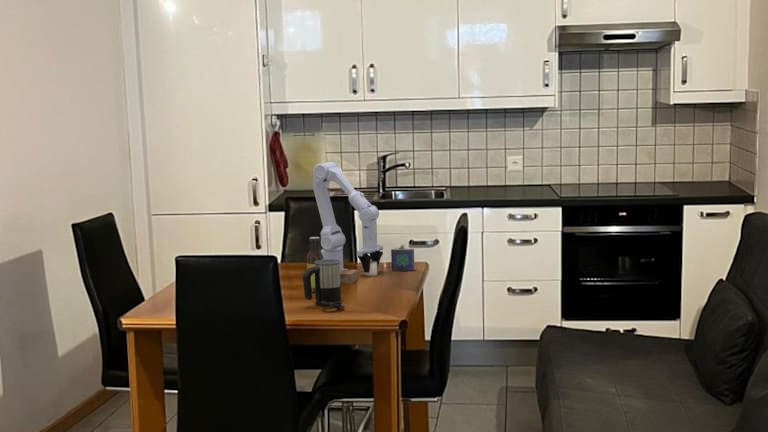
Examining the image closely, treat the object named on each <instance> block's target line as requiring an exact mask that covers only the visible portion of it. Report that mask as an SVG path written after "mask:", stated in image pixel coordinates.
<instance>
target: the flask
mask: <svg viewBox="0 0 768 432" xmlns="http://www.w3.org/2000/svg"><path fill="white" fill-rule="evenodd" d="M390 256H391V257H390V258H391V259H390V260H391V271H392V272H395V273H396V272H397V273H398V272H412V271H413V272H414V271H415V269H416V268H415V249H414V248H412V247H411V248H409V247H408V248H405V244H400V247H394V248H391V250H390Z"/></svg>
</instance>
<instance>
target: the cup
mask: <svg viewBox="0 0 768 432" xmlns="http://www.w3.org/2000/svg"><path fill="white" fill-rule="evenodd" d="M377 275H378V270H377V261H370V271H369V273H366V272H364V276H366V277H374V276H377Z"/></svg>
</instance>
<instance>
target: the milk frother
mask: <svg viewBox="0 0 768 432" xmlns="http://www.w3.org/2000/svg"><path fill="white" fill-rule="evenodd" d="M340 262H341V261H340V260H334V259H325V260H318V261H315V262H314V263H315V267H310V268H308V269H307V268H306V269H305V270H304V272H303V274H302V281H303V282H302V283H303V293H304V298H305V299H306V300H308V301H310V300H313V292H312V289H311V276H312V275H313V274H314V273H315V292H314V296H315V297H314V298H315V304H316V305H317V306H320V307H321V306H323V307H332V308H333V309H336V310H337V311H340V310H341V309H342V308H344V309H345V305H344V304H342V303H343V300H342V295H341V294H342V291H341V290H342V289H341V283H340Z"/></svg>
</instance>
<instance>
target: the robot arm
mask: <svg viewBox="0 0 768 432" xmlns="http://www.w3.org/2000/svg"><path fill="white" fill-rule="evenodd" d="M312 174H313V175H312V177H313V179H312V189H313V193H314V196H315V200H316V204H317V209H318V212H319V215H320V216H319V217H320V221H321V224H322V229H321V231H320V247H322V249H320V250H321V252H322V255H323V258H324V260H325V259H334V260H340V261H341V262H340V269H344V257H343V256H344V255H343V253H344V251H343V249H344V245H345V244H346V236H345V234H344V233H343V232H342V228H341V227H340V226H339V225H338V224H337V222H336V218H335V214H334V213H335V212H334V209H333V206H332V201H331V198H330V193H329V188H328V186H329V184H330V182H332V183H336V184H337V185H338V187H339V188H340V189H341V190H343V192H344V193H345V194H346V195H347V196H348V202H349V203H350V204H351V206H352V207H353V208H354V209H355V210H356V212H357V213H358V218H359V220H360V221H361V225H362V226H361V230H362V231H361V232H362V233H361V234H362V247H361V248H360V249H359V250H356V256H357V258H358V260H359V261H360V263H361V265H362V269H363V273H365V272H366V273H369V271H370V261H377V271H378V270H379V265H380V261H381V258H382V256H383V255H384V253H383V251H384V245H383V244H378V229H377V228H378V227H377V226H378V223H377V222H378V221H377V219H378V218H379V215H380V212H379V209H378V207H377V206H376V205H373V204H371V202H369V201H368V200H367V198H366V197H365V194H364V193H363V192H361V191H358V190H355V188H354V187H353V185H352V184H351V182H350V181H349V180H348V178H347V177H346V175H345V174H344V173H343V170H342V168H341V167H340V166H339V164H338V162H335V161H334V160H333V161H328V162H323V163H322V162H321V163H320V162H319V163H317V164H315V166H314V168H313V170H312ZM346 269H347V270H349V269H348V268H346Z"/></svg>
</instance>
